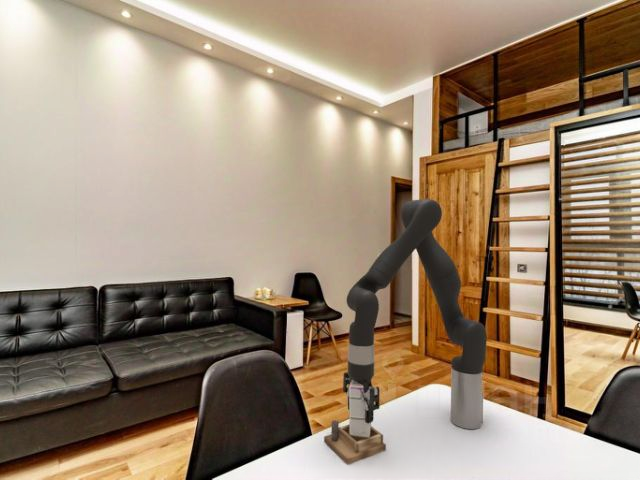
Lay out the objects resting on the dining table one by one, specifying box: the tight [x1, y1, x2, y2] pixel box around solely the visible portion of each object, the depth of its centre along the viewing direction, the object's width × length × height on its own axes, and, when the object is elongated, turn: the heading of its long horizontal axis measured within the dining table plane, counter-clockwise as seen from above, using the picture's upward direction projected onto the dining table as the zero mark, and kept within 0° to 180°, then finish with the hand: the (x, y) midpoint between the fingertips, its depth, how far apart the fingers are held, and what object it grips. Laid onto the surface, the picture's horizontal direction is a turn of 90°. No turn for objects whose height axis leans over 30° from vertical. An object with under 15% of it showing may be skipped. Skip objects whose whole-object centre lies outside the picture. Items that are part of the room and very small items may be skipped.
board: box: [323, 419, 387, 465], centre depth 103 cm, size 13×12×6 cm
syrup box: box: [348, 380, 372, 438], centre depth 103 cm, size 6×6×14 cm
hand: (359, 415), depth 103 cm, fingers closed on syrup box, 8 cm apart
